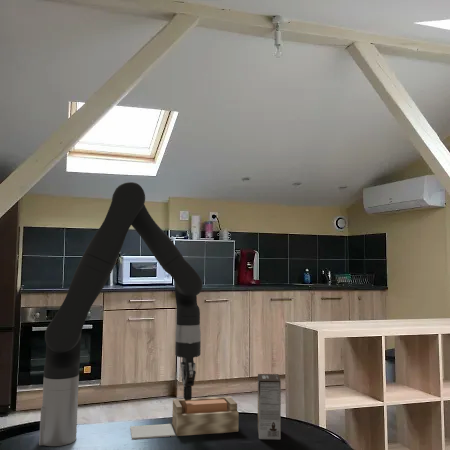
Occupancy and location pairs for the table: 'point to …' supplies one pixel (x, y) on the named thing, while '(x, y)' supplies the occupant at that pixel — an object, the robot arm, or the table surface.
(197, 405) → the orange rectangular block
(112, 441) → the table surface
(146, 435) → the mat
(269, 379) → the coffee box
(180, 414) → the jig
